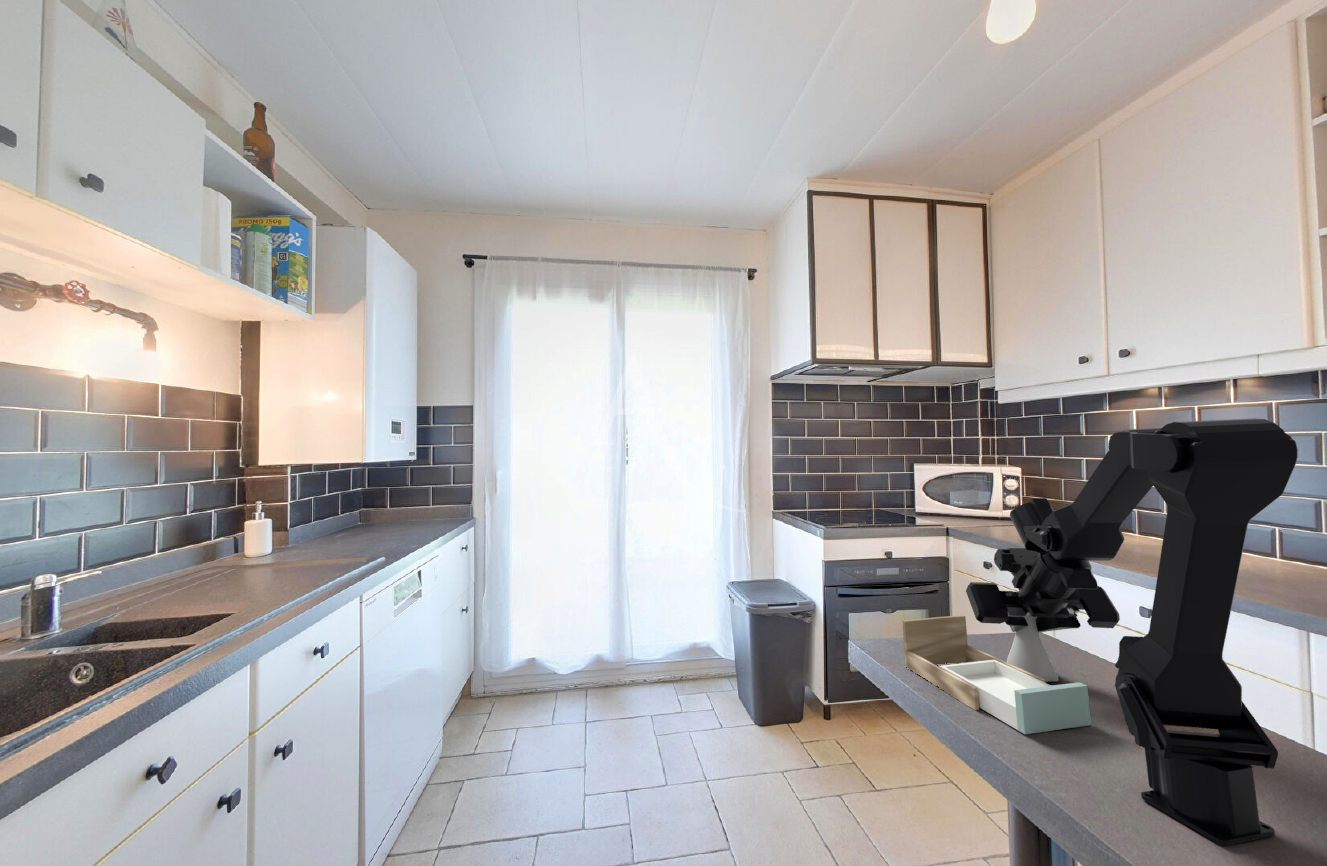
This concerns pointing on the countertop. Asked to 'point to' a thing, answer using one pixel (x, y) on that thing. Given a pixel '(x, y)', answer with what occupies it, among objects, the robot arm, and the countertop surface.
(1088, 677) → the countertop surface
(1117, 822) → the countertop surface
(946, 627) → the dock
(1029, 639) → the flask
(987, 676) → the tray
